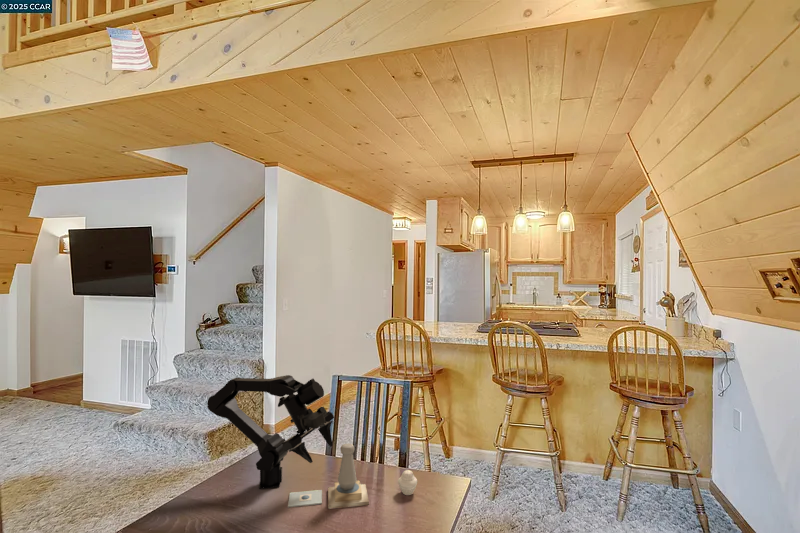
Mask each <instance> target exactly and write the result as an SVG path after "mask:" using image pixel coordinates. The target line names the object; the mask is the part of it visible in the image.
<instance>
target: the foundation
mask: <svg viewBox="0 0 800 533" xmlns="http://www.w3.org/2000/svg"><path fill="white" fill-rule="evenodd" d="M327 490H328V492H327V496H328V503H327V504H328V509H329V510H330V509H331V510H332V509H341V508H350V507H360V506H369V504H370V501H369V495H368V491H367V485H366V483H364V484H363V483H362V484H361V482H360V480H356V483H355V485H354V487H353V488H352V489H350V490H344V489H341V487H340V485H339V482H338V481H337V482H334V486H329V487H328V488H327Z"/></svg>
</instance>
